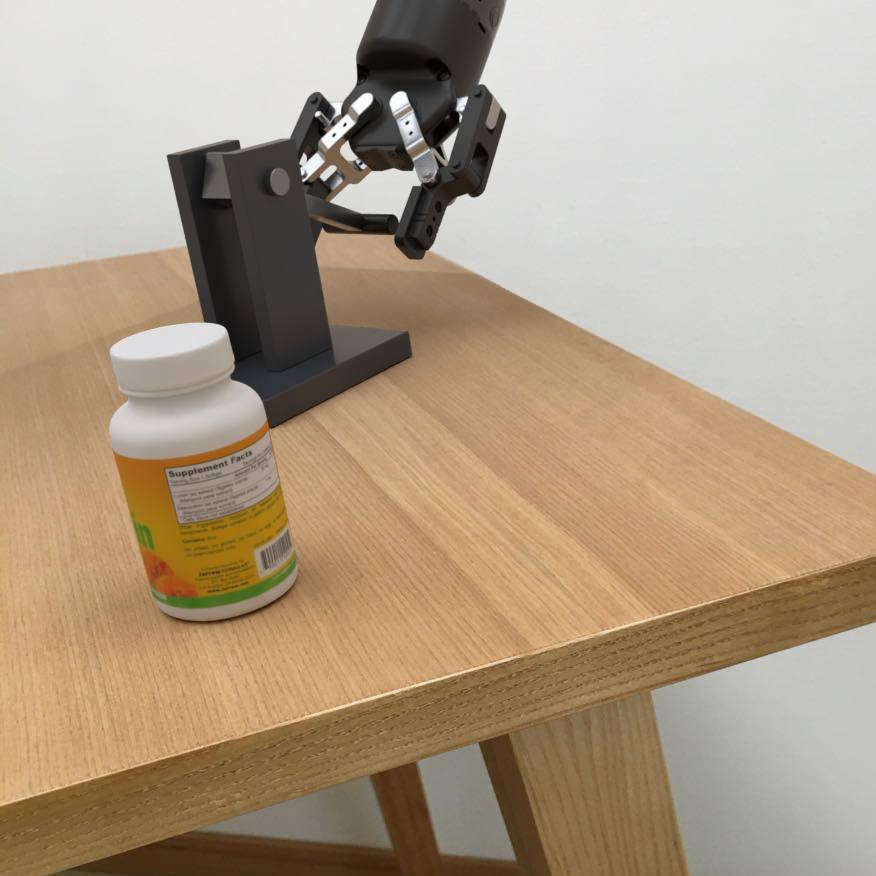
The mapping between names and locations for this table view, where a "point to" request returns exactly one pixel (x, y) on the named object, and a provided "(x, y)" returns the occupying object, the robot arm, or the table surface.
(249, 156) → the bracket
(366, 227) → the press lever
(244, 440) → the supplement bottle
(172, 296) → the table surface
